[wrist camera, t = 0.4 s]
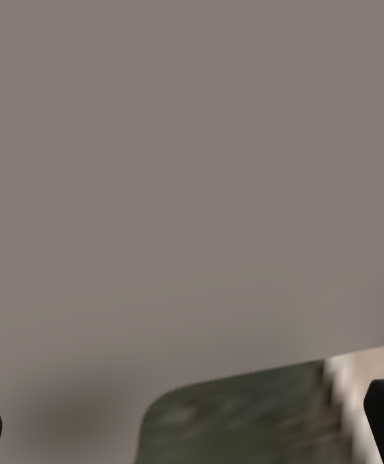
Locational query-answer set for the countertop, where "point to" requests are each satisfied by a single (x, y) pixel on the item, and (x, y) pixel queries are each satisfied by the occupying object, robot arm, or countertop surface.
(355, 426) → the countertop surface
